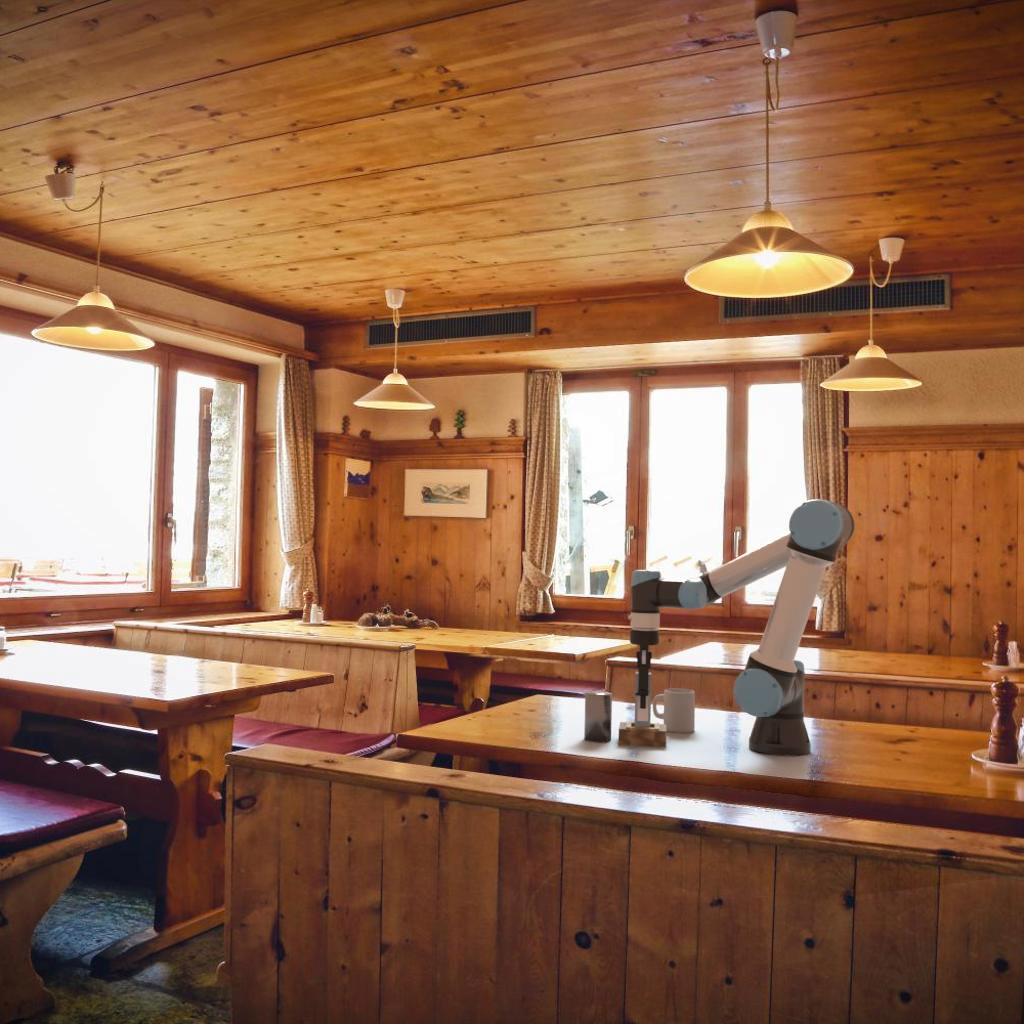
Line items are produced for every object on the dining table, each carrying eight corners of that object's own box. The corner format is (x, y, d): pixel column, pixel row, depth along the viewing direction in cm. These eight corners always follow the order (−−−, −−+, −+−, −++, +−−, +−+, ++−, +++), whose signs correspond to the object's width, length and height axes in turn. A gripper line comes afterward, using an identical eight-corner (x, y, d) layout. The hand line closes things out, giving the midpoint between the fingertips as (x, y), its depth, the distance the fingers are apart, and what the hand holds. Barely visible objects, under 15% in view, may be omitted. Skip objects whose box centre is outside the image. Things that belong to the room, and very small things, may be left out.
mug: (698, 729, 268) (698, 690, 268) (689, 734, 260) (689, 693, 261) (657, 724, 273) (658, 686, 274) (647, 729, 266) (648, 689, 266)
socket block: (665, 739, 252) (666, 722, 252) (666, 747, 242) (666, 729, 242) (620, 737, 254) (620, 720, 254) (618, 744, 244) (618, 727, 244)
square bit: (650, 730, 250) (651, 669, 250) (650, 733, 246) (651, 671, 246) (634, 729, 250) (636, 668, 251) (634, 732, 246) (635, 670, 247)
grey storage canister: (615, 741, 248) (616, 695, 248) (591, 742, 246) (592, 695, 246) (603, 736, 255) (604, 691, 255) (580, 737, 252) (580, 691, 253)
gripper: (631, 626, 258) (629, 713, 257) (629, 631, 241) (627, 724, 240) (659, 627, 257) (657, 714, 256) (659, 632, 240) (657, 726, 239)
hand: (642, 719), depth 248 cm, fingers closed on square bit, 4 cm apart
